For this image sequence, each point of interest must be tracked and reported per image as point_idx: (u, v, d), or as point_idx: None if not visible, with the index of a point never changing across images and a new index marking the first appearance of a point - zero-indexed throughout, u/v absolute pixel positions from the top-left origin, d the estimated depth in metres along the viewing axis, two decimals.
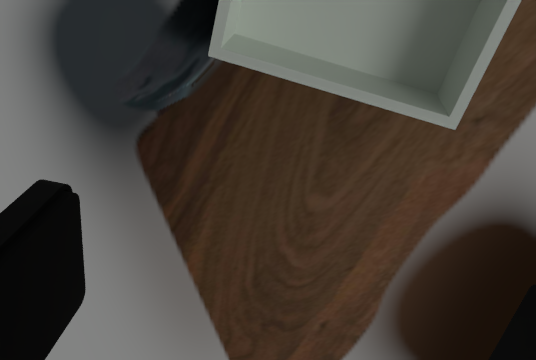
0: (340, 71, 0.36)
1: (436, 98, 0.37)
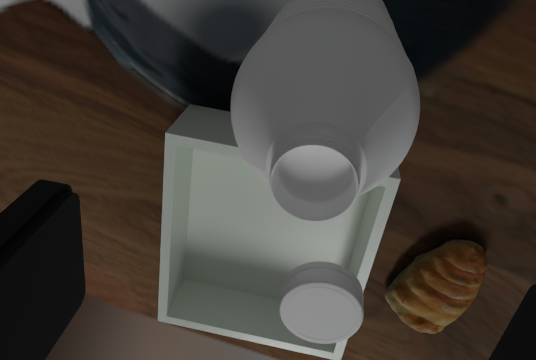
0: (182, 221, 0.41)
1: (179, 285, 0.45)
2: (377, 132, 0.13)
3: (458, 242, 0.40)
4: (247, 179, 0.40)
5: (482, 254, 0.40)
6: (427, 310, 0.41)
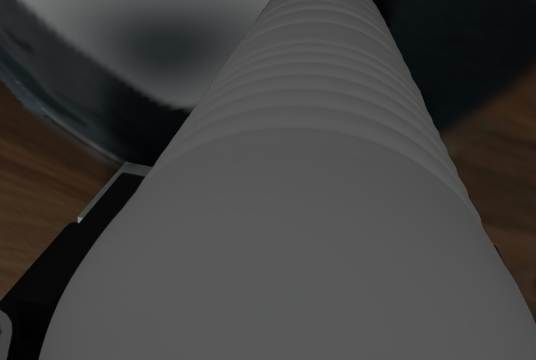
0: None
1: None
2: None
3: None
4: None
5: None
6: None
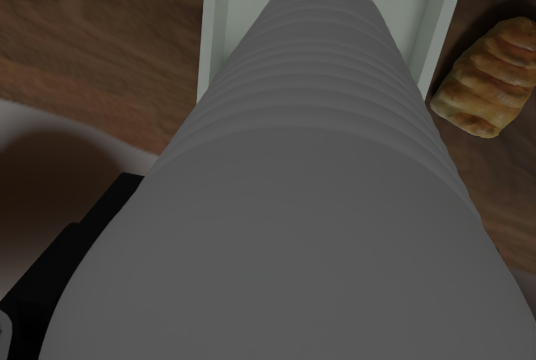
0: (223, 8, 0.36)
1: None
2: None
3: None
4: None
5: None
6: (481, 103, 0.36)
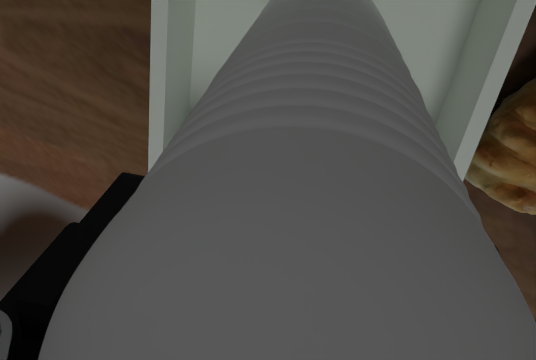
0: (185, 41, 0.26)
1: None
2: None
3: None
4: None
5: None
6: (532, 172, 0.26)
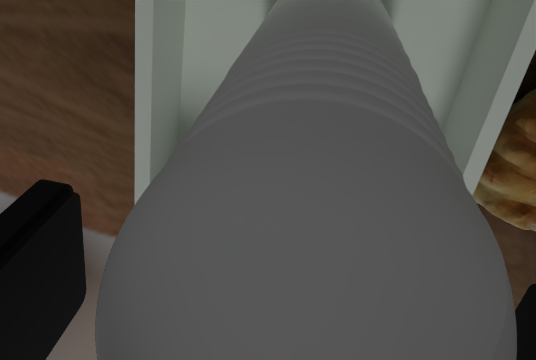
0: (173, 49, 0.24)
1: None
2: None
3: None
4: None
5: None
6: (535, 188, 0.25)
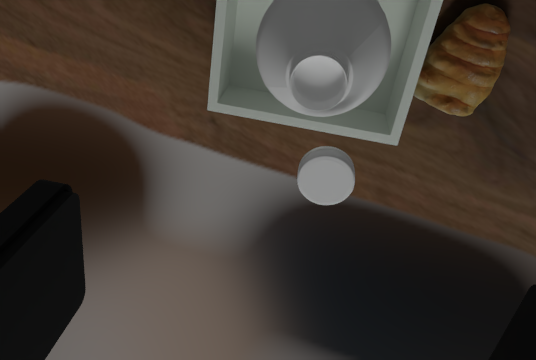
0: None
1: (226, 86, 0.44)
2: (360, 53, 0.20)
3: None
4: None
5: (503, 13, 0.38)
6: (453, 84, 0.40)
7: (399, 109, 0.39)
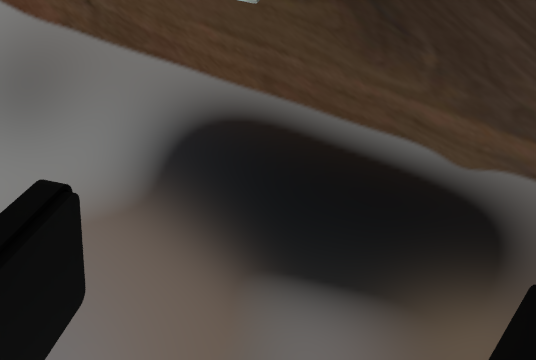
0: None
1: None
2: None
3: None
4: None
5: None
6: None
7: None
